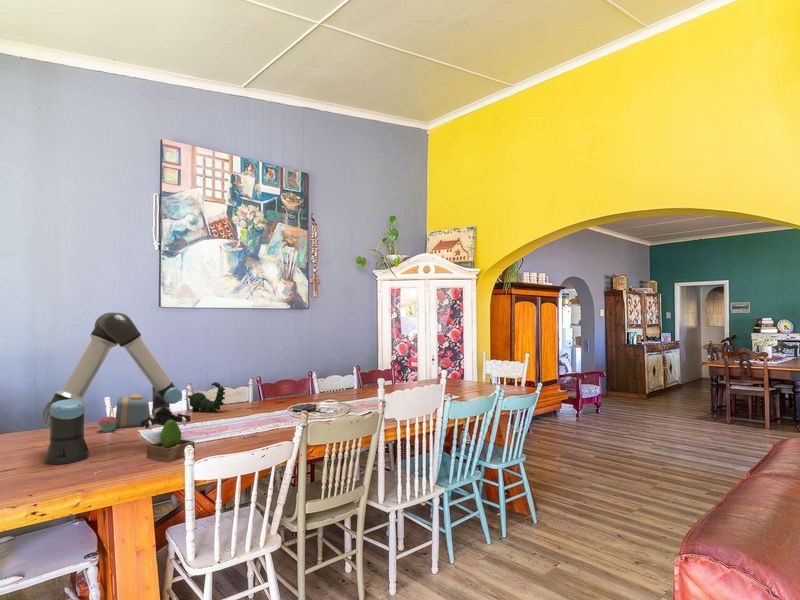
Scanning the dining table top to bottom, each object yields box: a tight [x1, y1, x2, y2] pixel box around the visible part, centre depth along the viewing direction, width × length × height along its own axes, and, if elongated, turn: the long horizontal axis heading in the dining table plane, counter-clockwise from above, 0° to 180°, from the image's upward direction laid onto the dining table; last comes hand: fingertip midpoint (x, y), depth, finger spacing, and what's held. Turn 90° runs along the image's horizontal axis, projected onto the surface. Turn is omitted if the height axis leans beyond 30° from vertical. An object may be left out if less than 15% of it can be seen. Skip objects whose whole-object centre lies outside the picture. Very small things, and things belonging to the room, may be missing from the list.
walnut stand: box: [146, 438, 195, 463], centre depth 208 cm, size 13×13×5 cm
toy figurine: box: [186, 381, 226, 413], centre depth 296 cm, size 9×19×25 cm
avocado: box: [159, 420, 182, 448], centre depth 208 cm, size 8×8×12 cm
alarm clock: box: [115, 393, 151, 429], centre depth 265 cm, size 16×16×16 cm
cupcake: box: [97, 407, 118, 433], centre depth 251 cm, size 9×8×12 cm
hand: (168, 424), depth 215 cm, fingers open, 13 cm apart
